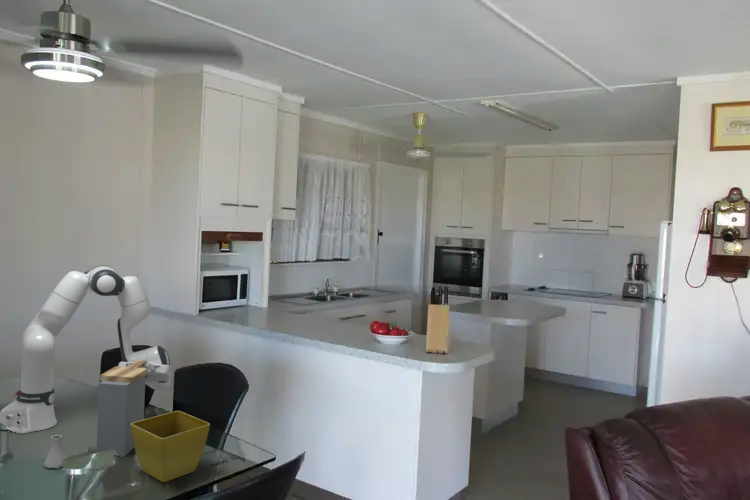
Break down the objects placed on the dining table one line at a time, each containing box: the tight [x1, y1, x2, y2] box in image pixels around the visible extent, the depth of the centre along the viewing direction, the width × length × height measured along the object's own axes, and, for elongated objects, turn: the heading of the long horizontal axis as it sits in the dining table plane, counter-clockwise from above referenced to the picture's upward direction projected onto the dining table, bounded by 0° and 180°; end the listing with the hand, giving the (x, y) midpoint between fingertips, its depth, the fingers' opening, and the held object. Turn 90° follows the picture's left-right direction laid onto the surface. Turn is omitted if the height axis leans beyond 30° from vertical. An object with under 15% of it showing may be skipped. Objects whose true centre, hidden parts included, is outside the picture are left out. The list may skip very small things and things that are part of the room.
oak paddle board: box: [99, 360, 147, 383], centre depth 225 cm, size 12×22×2 cm, turn 178°
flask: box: [42, 434, 67, 468], centre depth 203 cm, size 7×7×10 cm
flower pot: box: [131, 410, 211, 483], centre depth 204 cm, size 19×19×17 cm
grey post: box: [96, 375, 146, 458], centre depth 220 cm, size 10×16×26 cm, turn 178°
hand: (138, 364), depth 232 cm, fingers open, 5 cm apart
